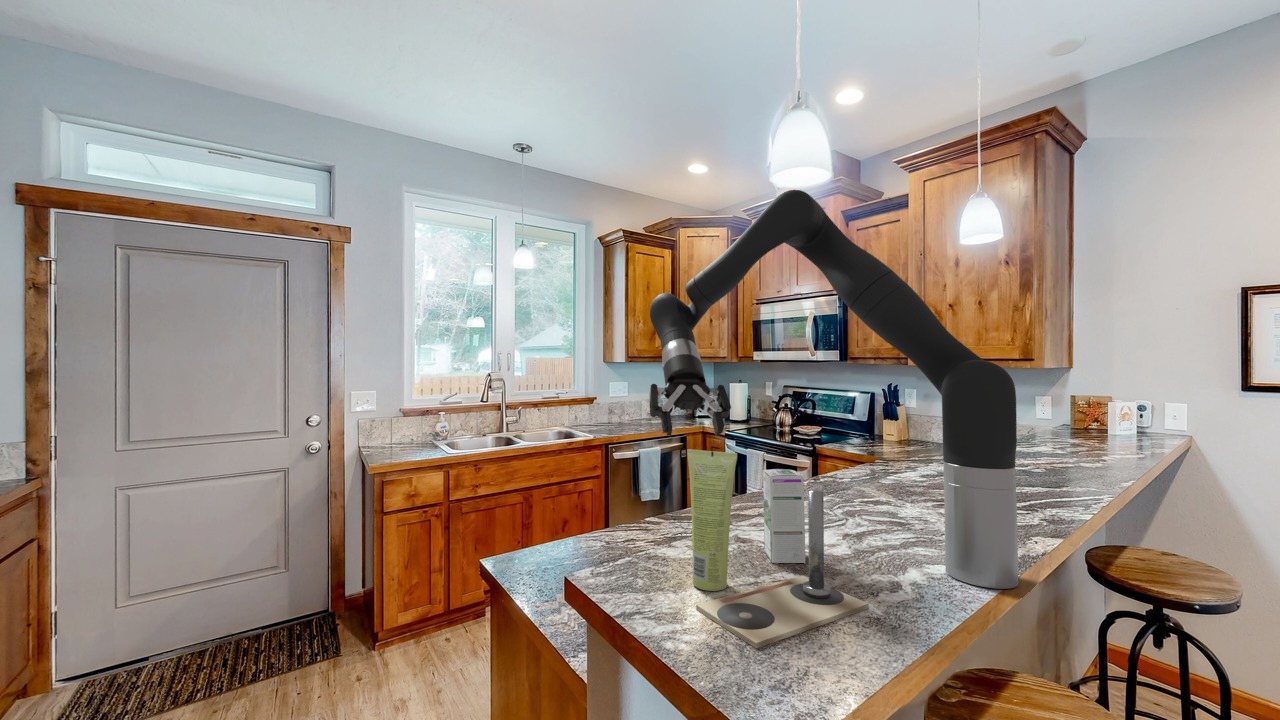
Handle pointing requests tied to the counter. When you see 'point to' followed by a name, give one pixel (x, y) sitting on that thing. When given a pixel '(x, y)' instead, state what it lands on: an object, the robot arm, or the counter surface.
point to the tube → (711, 515)
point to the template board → (777, 611)
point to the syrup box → (784, 516)
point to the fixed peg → (816, 547)
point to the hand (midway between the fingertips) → (694, 433)
